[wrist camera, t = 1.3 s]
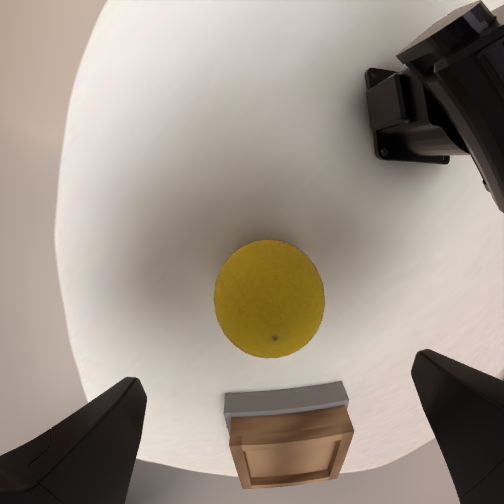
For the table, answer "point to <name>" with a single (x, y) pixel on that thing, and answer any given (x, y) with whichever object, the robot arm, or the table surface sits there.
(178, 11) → the table surface
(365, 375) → the table surface
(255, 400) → the bottom block
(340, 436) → the wooden tray
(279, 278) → the lemon
